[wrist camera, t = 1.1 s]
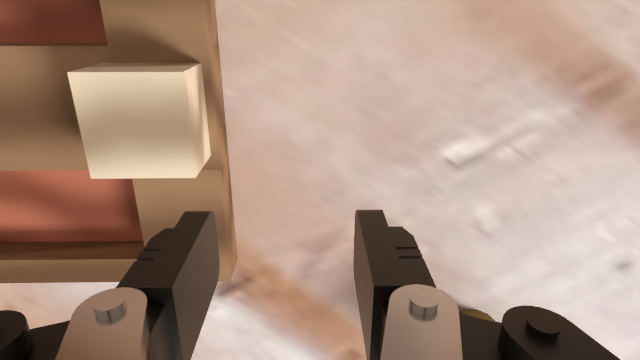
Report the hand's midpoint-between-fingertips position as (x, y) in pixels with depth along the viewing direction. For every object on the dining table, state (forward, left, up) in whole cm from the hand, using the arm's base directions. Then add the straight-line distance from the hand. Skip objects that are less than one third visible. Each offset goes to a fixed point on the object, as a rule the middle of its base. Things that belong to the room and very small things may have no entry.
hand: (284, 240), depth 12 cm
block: (0, -9, -16) cm, 19 cm away
